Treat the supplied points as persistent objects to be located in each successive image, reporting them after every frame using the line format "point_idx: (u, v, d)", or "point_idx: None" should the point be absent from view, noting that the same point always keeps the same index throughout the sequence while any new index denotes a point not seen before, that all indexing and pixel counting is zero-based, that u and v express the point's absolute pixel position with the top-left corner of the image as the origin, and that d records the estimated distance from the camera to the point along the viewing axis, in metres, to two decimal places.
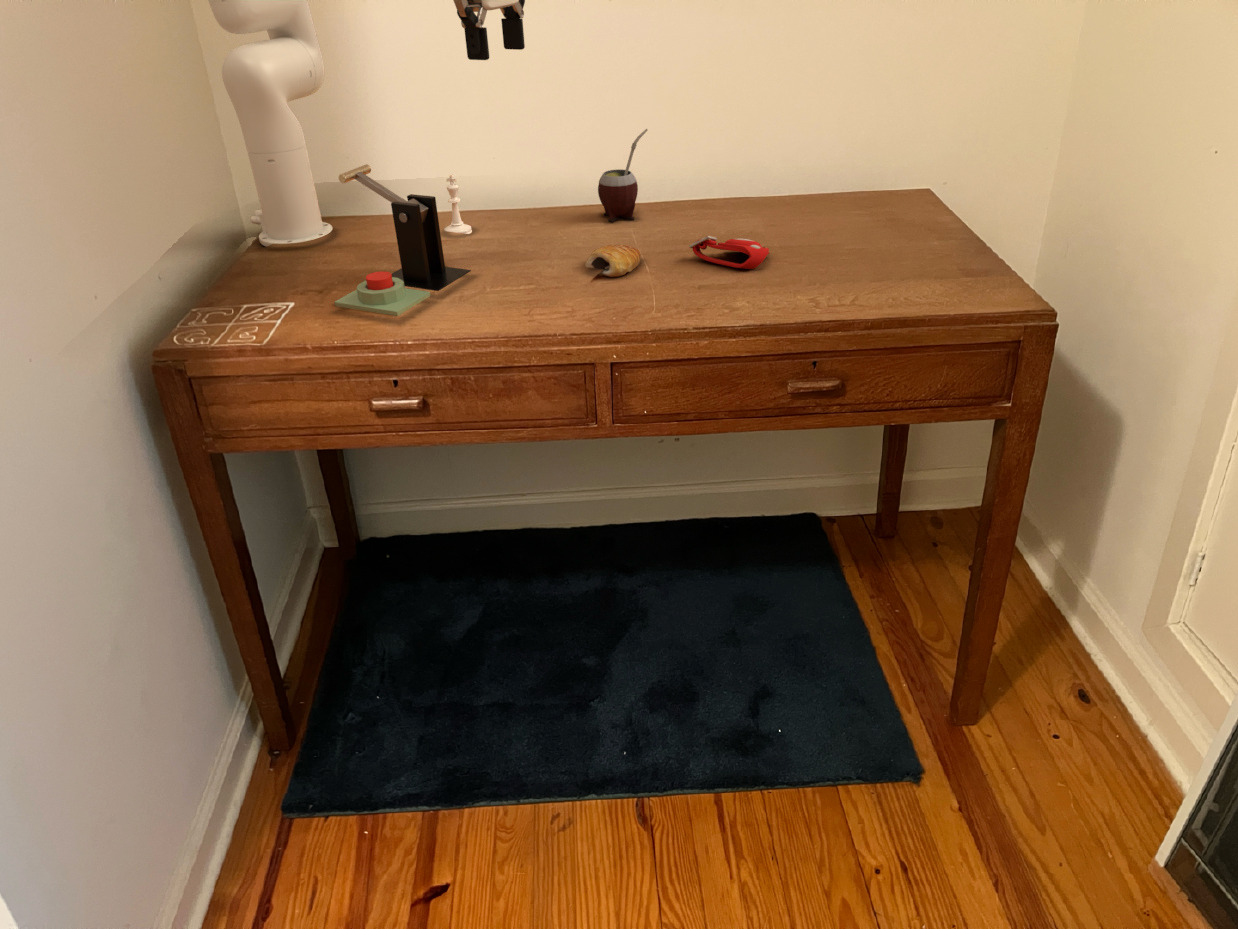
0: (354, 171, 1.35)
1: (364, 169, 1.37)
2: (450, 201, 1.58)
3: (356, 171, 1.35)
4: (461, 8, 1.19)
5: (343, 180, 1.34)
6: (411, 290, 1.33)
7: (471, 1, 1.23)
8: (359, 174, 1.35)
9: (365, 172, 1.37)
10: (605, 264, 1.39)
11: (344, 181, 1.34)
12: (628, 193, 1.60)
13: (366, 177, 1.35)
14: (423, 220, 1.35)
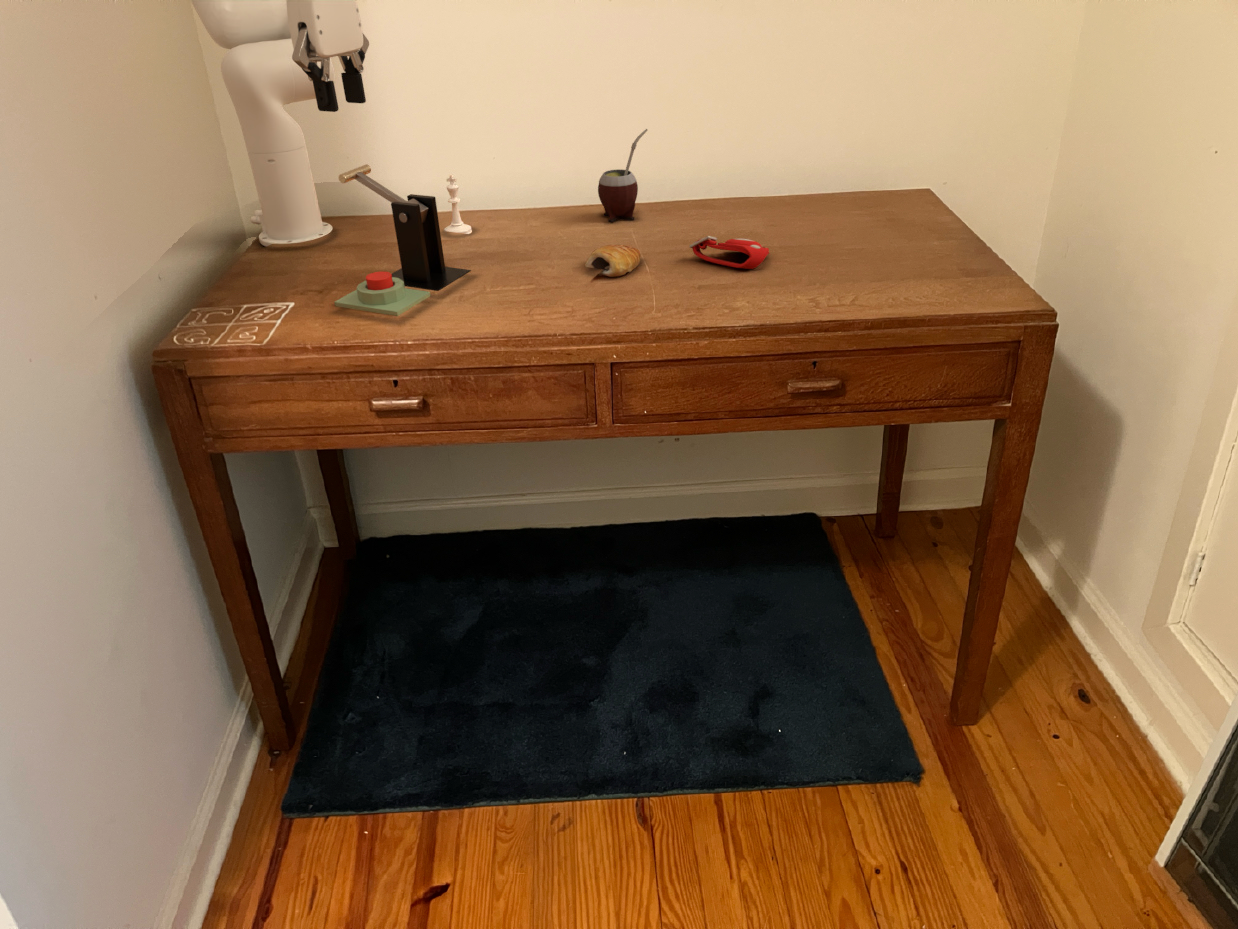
0: (354, 171, 1.35)
1: (364, 169, 1.37)
2: (450, 201, 1.58)
3: (356, 171, 1.35)
4: (304, 67, 1.23)
5: (343, 180, 1.34)
6: (411, 290, 1.33)
7: (313, 52, 1.25)
8: (359, 174, 1.35)
9: (365, 172, 1.37)
10: (605, 264, 1.39)
11: (344, 181, 1.34)
12: (628, 193, 1.60)
13: (366, 177, 1.35)
14: (423, 220, 1.35)
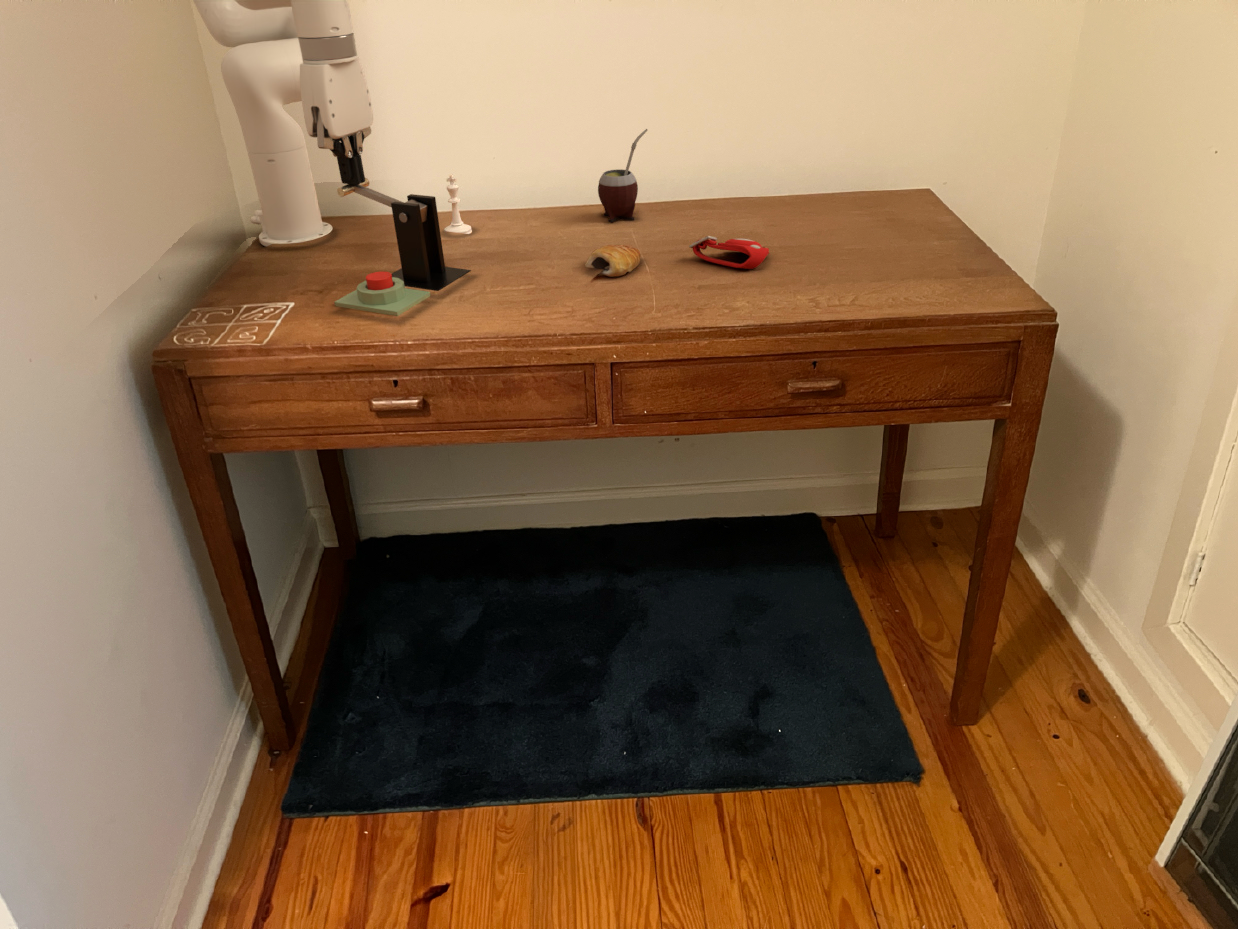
0: (352, 184, 1.36)
1: None
2: (450, 201, 1.58)
3: None
4: (330, 149, 1.31)
5: (341, 194, 1.35)
6: (411, 290, 1.33)
7: None
8: (357, 186, 1.36)
9: (363, 184, 1.38)
10: (605, 264, 1.39)
11: (343, 194, 1.35)
12: (628, 193, 1.60)
13: (364, 188, 1.36)
14: (424, 219, 1.35)
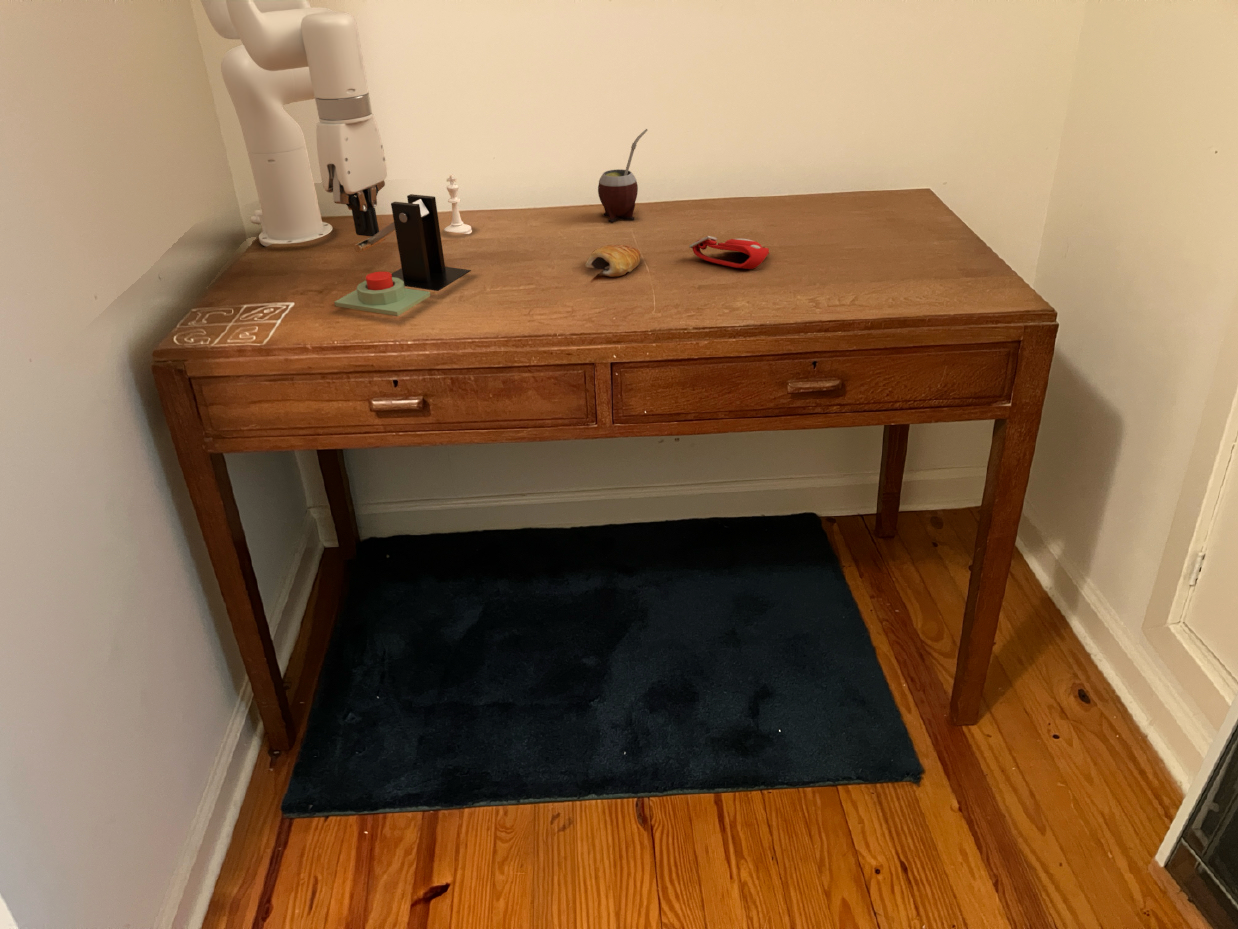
0: (366, 239, 1.40)
1: None
2: (450, 201, 1.58)
3: (368, 239, 1.41)
4: (346, 203, 1.34)
5: (359, 249, 1.39)
6: (411, 290, 1.33)
7: None
8: (370, 237, 1.40)
9: None
10: (605, 264, 1.39)
11: (360, 248, 1.39)
12: (628, 193, 1.60)
13: (376, 234, 1.40)
14: (426, 211, 1.34)
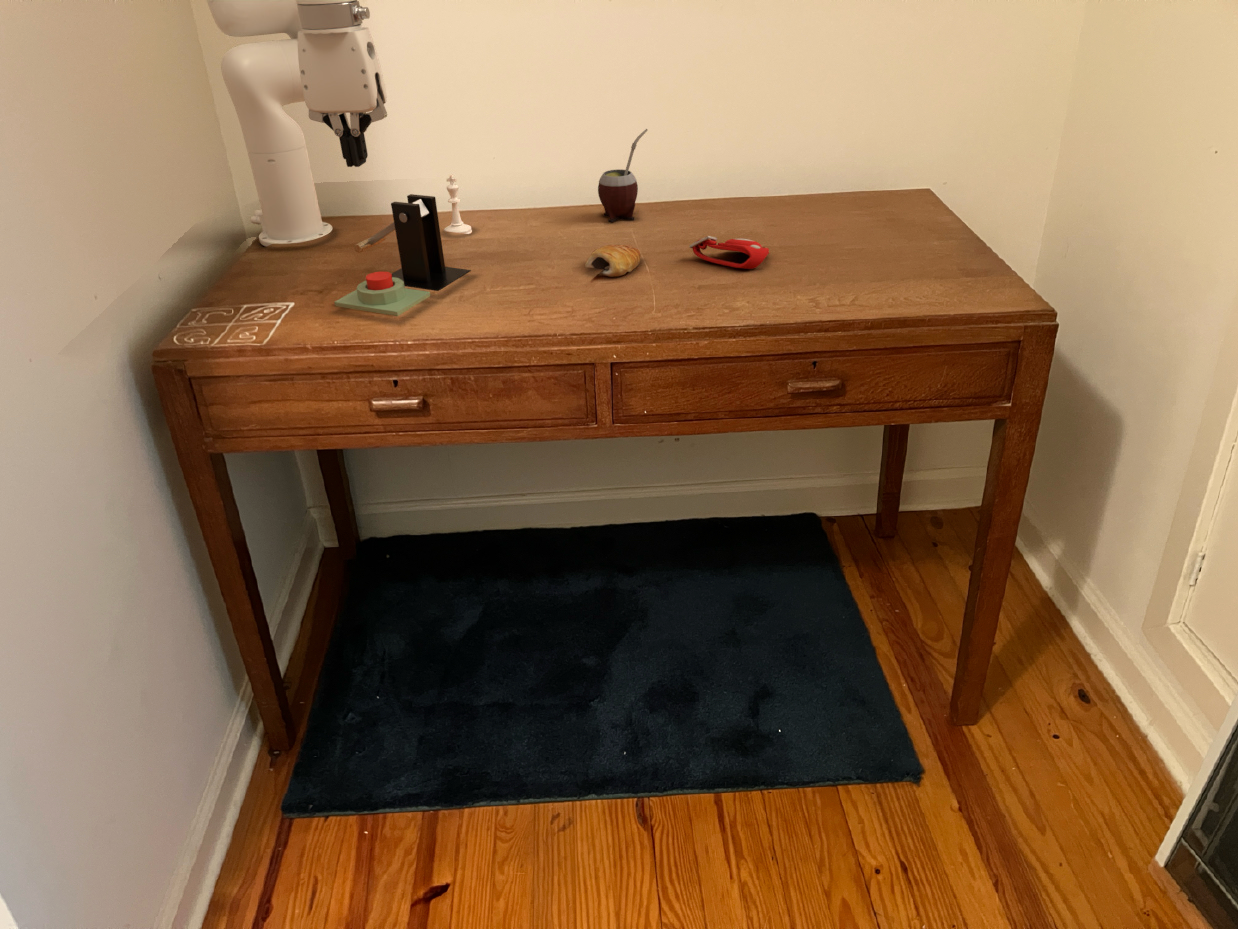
0: (366, 239, 1.40)
1: None
2: (450, 201, 1.58)
3: (368, 239, 1.41)
4: None
5: (359, 249, 1.39)
6: (411, 290, 1.33)
7: None
8: (370, 237, 1.40)
9: None
10: (605, 264, 1.39)
11: (360, 248, 1.39)
12: (628, 193, 1.60)
13: (376, 234, 1.40)
14: (426, 211, 1.34)
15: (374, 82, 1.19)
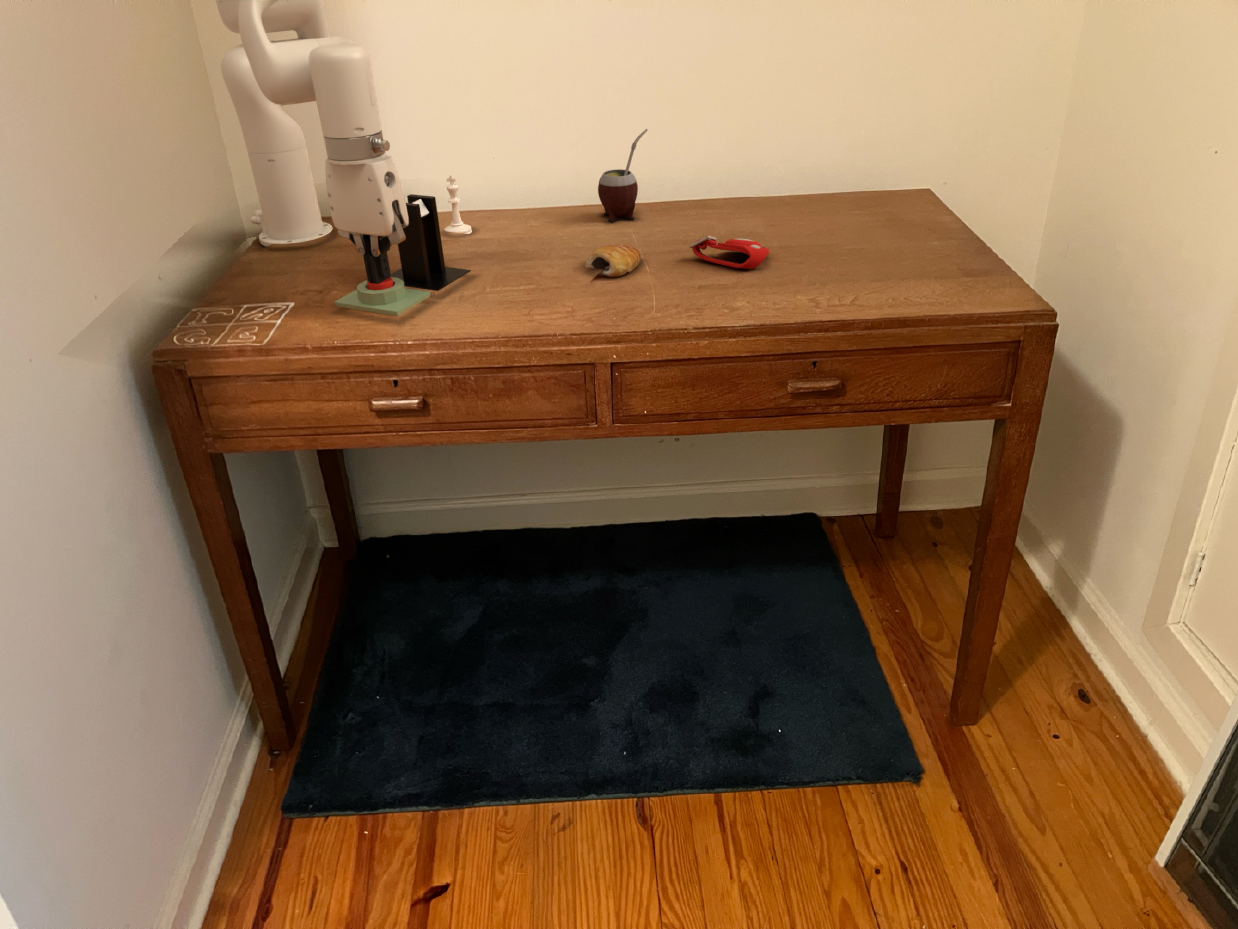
0: None
1: None
2: (450, 201, 1.58)
3: None
4: None
5: None
6: (411, 290, 1.33)
7: None
8: None
9: None
10: (605, 264, 1.39)
11: None
12: (628, 193, 1.60)
13: None
14: (426, 211, 1.34)
15: (390, 210, 1.22)
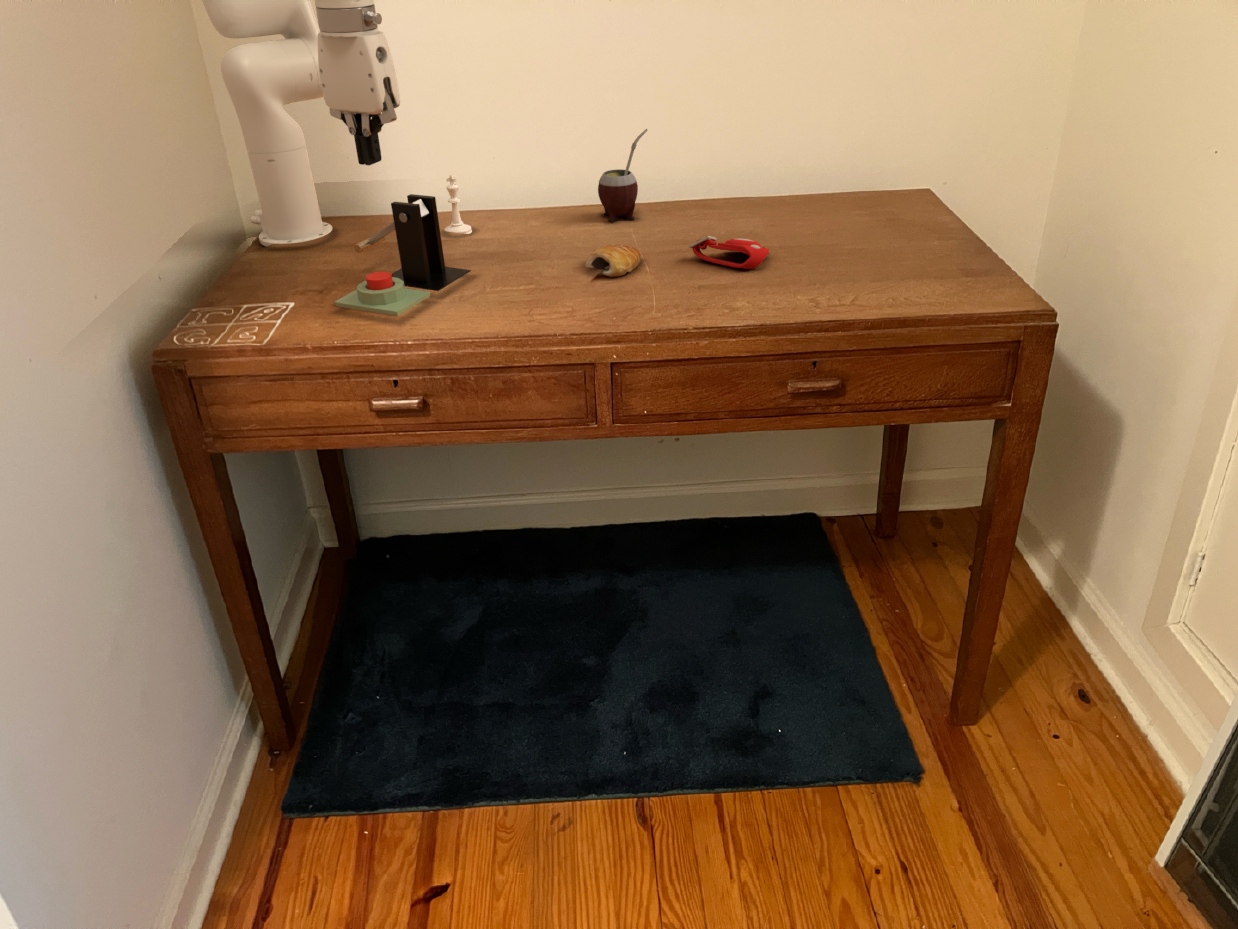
0: (366, 239, 1.40)
1: None
2: (450, 201, 1.58)
3: (368, 239, 1.41)
4: None
5: (359, 249, 1.39)
6: (411, 290, 1.33)
7: None
8: (370, 237, 1.40)
9: None
10: (605, 264, 1.39)
11: (360, 248, 1.39)
12: (628, 193, 1.60)
13: (376, 234, 1.40)
14: (426, 211, 1.34)
15: (381, 86, 1.22)
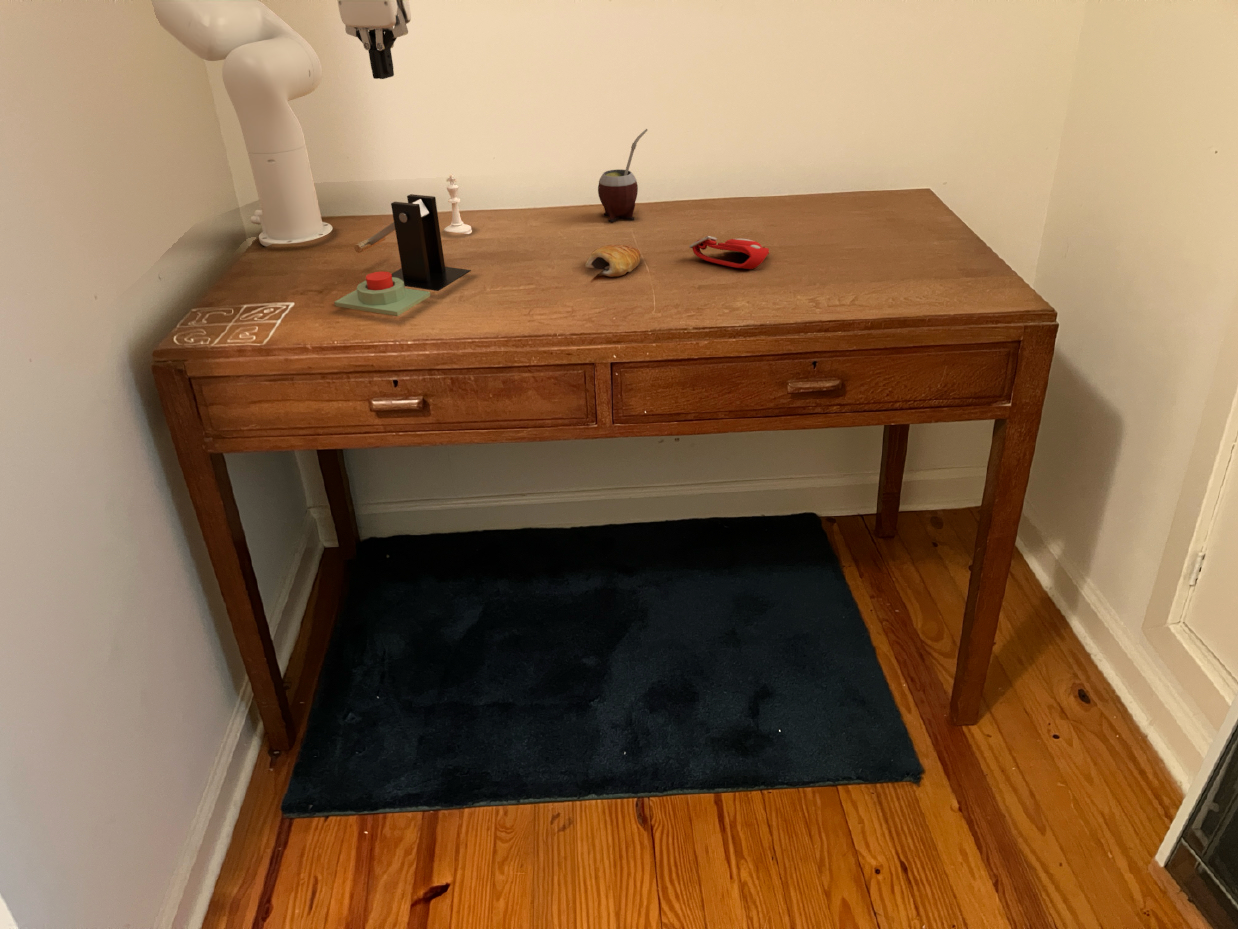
0: (366, 239, 1.40)
1: None
2: (450, 201, 1.58)
3: (368, 239, 1.41)
4: None
5: (359, 249, 1.39)
6: (411, 290, 1.33)
7: None
8: (370, 237, 1.40)
9: None
10: (605, 264, 1.39)
11: (360, 248, 1.39)
12: (628, 193, 1.60)
13: (376, 234, 1.40)
14: (426, 211, 1.34)
15: (394, 0, 1.32)
